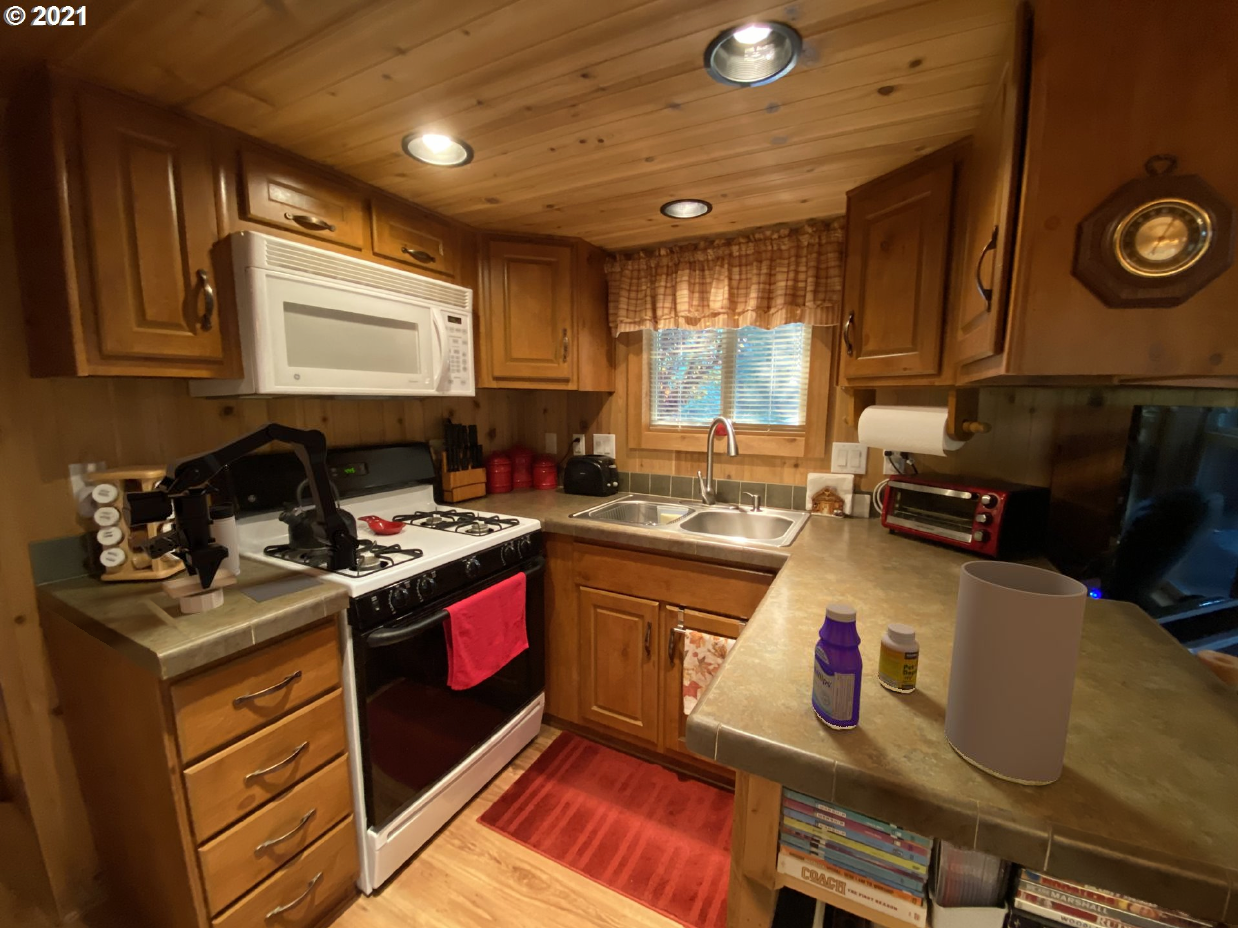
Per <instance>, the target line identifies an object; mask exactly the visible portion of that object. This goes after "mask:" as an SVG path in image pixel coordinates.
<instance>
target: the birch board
mask: <svg viewBox="0 0 1238 928" xmlns="http://www.w3.org/2000/svg"><path fill="white" fill-rule="evenodd" d="M233 584H237V576H236V574H234V573H232V572H231V571H229V570H227V569H225V568H223V569H218V570H217V572H216V575H215V577H214V579H213V581H212V583H211V586H210V588H207V589H203V588H202V585H201V583H200V580H199V577H198V574H197V575H193V576H189V575H188V576H184V577H180V578H176V579H172V580H168V581H163V582H161V588H162V592H163V593H164V594H166V595H167V596H168V597H170V598H171V599H173V600H174V599H180V598H179V597H183V596H187V595H191V594H194V593H198V592H202V591H206V590H210V589H214V588H218V587H222V588H223V587H225V586H228V585H233Z"/></svg>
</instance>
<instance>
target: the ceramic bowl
mask: <svg viewBox="0 0 1238 928" xmlns="http://www.w3.org/2000/svg"><path fill="white" fill-rule="evenodd" d="M178 599H179V604H180V605H179V606H180V612H182V613H183V614H198V613H203V612H208V611H210V610H214V609H216V608H218V607H220V606H222V605H223V604H224V591H223V586H222V587H218V588H214V589H210V590H206V591H202V592H198V593H194V594H191V595H187V596H183V597H179V598H178Z"/></svg>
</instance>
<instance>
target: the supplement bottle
mask: <svg viewBox="0 0 1238 928" xmlns="http://www.w3.org/2000/svg"><path fill="white" fill-rule="evenodd" d="M879 648H880V649H879V659H878V660H879V661H878V670H877V672H878V673H877V678H878V677H879V679H880V680H881V681H883V682H884V683H886V684H887V685H889V686H891V687H894V688H898V689H902V690H910V689H913V688H915V689H916V687H915V686H916V685H917V677H918V667H919V656H920V649H921V648H920V644H919V642H918V641H917V640H916V630H915V629H914V627H912V626H910V625H907V624H903V623H898V622H892V623H889V624H888V625H887V630H886V633H883V635H881V638H880V647H879Z"/></svg>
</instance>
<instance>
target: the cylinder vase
mask: <svg viewBox="0 0 1238 928" xmlns="http://www.w3.org/2000/svg"><path fill="white" fill-rule="evenodd" d="M957 595H958V596H957V602H956V603H957V605H956V611H955V612H956V613H955V614H956V616H955V624H954V625H955V626H954V633H953V641H952V642H953V643H952V653H951V661H950V662H951V663H950V671H949V681H948V689H947V699H946V700H947V701H946V709H945V721H944V726H943V727H944V728H943V729H944V730H945V732H944V735H945V734H946V736H947V738H948V739H949V741H950V742H951V743H952V745H953V746H954V747H955V748H957V750H959V751H960V752H961V753H962V754H964V756H966V757H968V758H970V759H972V760H973V761H975V762H976V763H978V764H979V765H982V766H983V767H985V768H988V769H989V770H992V771H993V772H996V773H999V774H1002V775H1003V776H1006V777H1011V778H1015V779H1021V780H1026V781H1035V782H1036V781H1039V782H1040V781H1041V782H1047V781H1048V782H1049V781H1054V780H1056V779H1058V778H1060V777H1061V776H1062V771H1063V766H1064V765H1063V764H1064V759H1065V758H1064V757H1065V750H1066V742H1067V736H1068V729H1069V722H1070V714H1071V708H1072V703H1073V702H1072V701H1073V694H1074V686H1075V680H1076V672H1077V668H1078V667H1077V665H1078V659H1079V651H1080V646H1081V637H1082V631H1083V624H1084V618H1085V617H1084V616H1085V608H1086V603H1087V595H1088V588H1087V586H1085V585H1084V584H1083V583H1082V582H1080V581H1078V580H1076V579H1074V578H1072V577H1070V576H1066V575H1064V574H1061V573H1058V572H1055V571H1051V570H1048V569H1044V568H1040V567H1036V566H1031V565H1027V564H1026V565H1025V564H1020V563H1014V562H1006V561H998V560H997V561H995V560H973V561H968V562H965V563H963V564H961V566H960V575H959V584H958V594H957ZM946 736H945V737H946ZM1060 775H1061V776H1060ZM1058 780H1059V779H1058Z"/></svg>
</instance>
